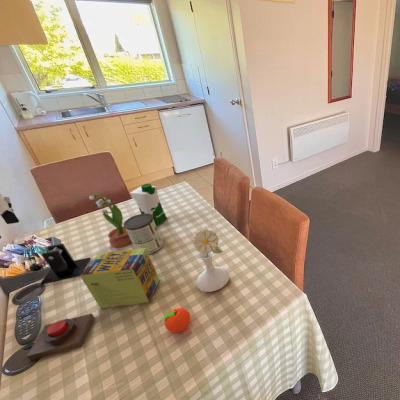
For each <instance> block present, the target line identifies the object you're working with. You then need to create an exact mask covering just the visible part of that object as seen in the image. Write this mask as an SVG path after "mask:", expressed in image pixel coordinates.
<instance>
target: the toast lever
mask: <svg viewBox="0 0 400 400" xmlns="http://www.w3.org/2000/svg"><path fill="white" fill-rule="evenodd" d="M56 250H58V251H59V253H60V254H61V252H62V251H63V250H61V249H59V248H57V247H55V248H54V249H53V250H51V251H56ZM51 251H49V252H51ZM46 263H47V262H46V260H45V259H44V258H43V259H42V260H40V261H39V262H33V263H31V264H30V265H29V267H28V268H29V271H30V272H38V271H40V270H41V269H43V265H44V264H46Z"/></svg>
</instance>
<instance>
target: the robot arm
mask: <svg viewBox="0 0 400 400" xmlns="http://www.w3.org/2000/svg"><path fill="white" fill-rule="evenodd" d="M12 206H13V205H12V203H11V199H10V197H9V196H3V195H2V193H0V217H1V218H2V219H3V220H4V222H5V224H7V225H12V224H18V223H19V222H20V220H19V218H18V217H17V216H16V214H15V212H14V208H13V207H12ZM1 239H2V236H1V235H0V240H1Z"/></svg>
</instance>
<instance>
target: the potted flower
mask: <svg viewBox="0 0 400 400" xmlns="http://www.w3.org/2000/svg"><path fill="white" fill-rule="evenodd" d="M96 196H98V200H97V197H96ZM100 198H101V199H100ZM91 200H92V201H93V200H95V204H96V205H97V208H98V209H101V208H102V211H101V213H102V216H103V217H104V219H105V220H106V221H107V222H108V223H109V224H111V225H112V226H113V227H114V229H111V231H110V232H109V233H107V237H108V240H109V245H110V246H111V247H113V248H122V247H127V246H129V245H131V244H133V243H132V241H131V239H130V237H129V235H128V233H127V231H126V229H125V227H124V225H123V221H124V218H123V213H122V210H121V209H120V207H118V206H117V205H116V204H115V203H113V204H111V203H112V201H111V199H110V198H109V199H108V198H107V197H104V196H103V195H102V194H101V193H100V192H99V191H98V192H97V193H95V194H93V195H90V196H89V201H91ZM104 203H106V204H104ZM103 204H104V205H103ZM110 204H111V205H110ZM104 207H108V208H109V210H110V211H108V210H107V209H104ZM109 214H111V216H110V215H109Z"/></svg>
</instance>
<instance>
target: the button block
mask: <svg viewBox="0 0 400 400" xmlns="http://www.w3.org/2000/svg"><path fill="white" fill-rule="evenodd" d="M95 319H96V317H95V316H94V313H88V314H85V315H80V316H76V317H71V318H65V319H61V320H59V321H65V322H66V324H67V325H68V328H67V329H66V330H65V331H64V332H63V333H62V334H60V335H58V336H55V337H52V336H50V335H49V334H48V332H47V329H48V328H49V327H50V326H51V325H52V324H53V323H54V322H52V323H47V324H45V325H44V326H43V328H42V330H41V331H40V333H39V335H38V337H37V338H36V340H35V342H34V343H33V345H32V346H31V348H30V350H29V352H28V353H27V355H26V357H27V358H28V360H30V361H35V360H38V359H42V358H45V357H50V356H53V355H56V354H60V353H64V352H67V351H71V350H75V349H78V348H82V347H83V346H84V344H85V342H86V340H87V337H88V334H89V333H90V330H91V328H92V325H93V323H94V321H95Z"/></svg>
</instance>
